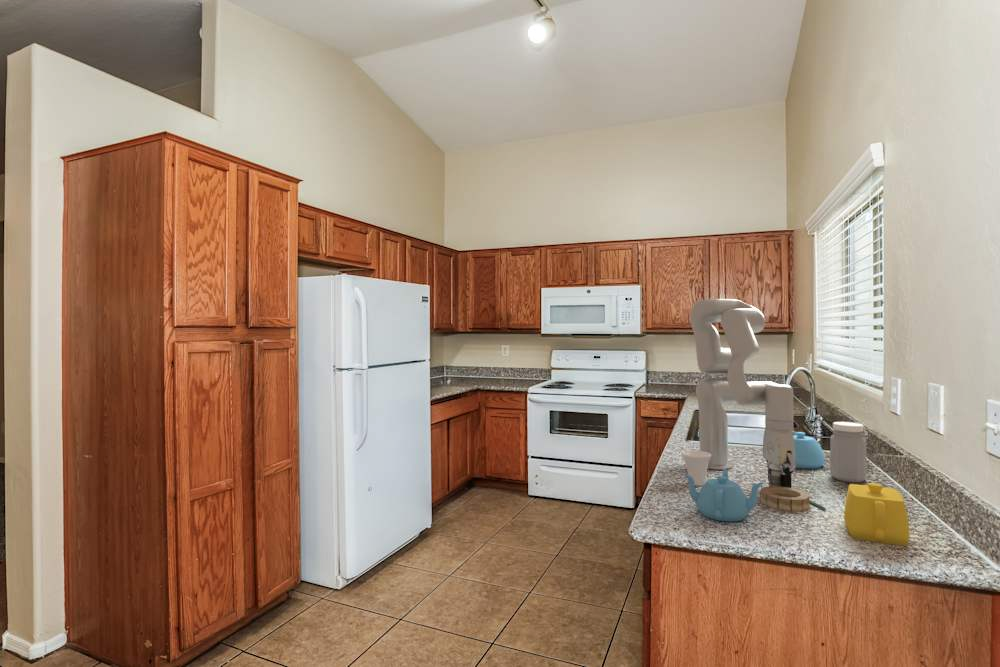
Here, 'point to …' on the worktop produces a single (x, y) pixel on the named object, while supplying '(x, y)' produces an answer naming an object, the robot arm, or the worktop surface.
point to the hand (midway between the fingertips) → (779, 483)
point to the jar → (848, 452)
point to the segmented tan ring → (784, 498)
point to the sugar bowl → (807, 452)
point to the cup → (697, 465)
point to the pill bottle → (775, 474)
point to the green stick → (817, 505)
